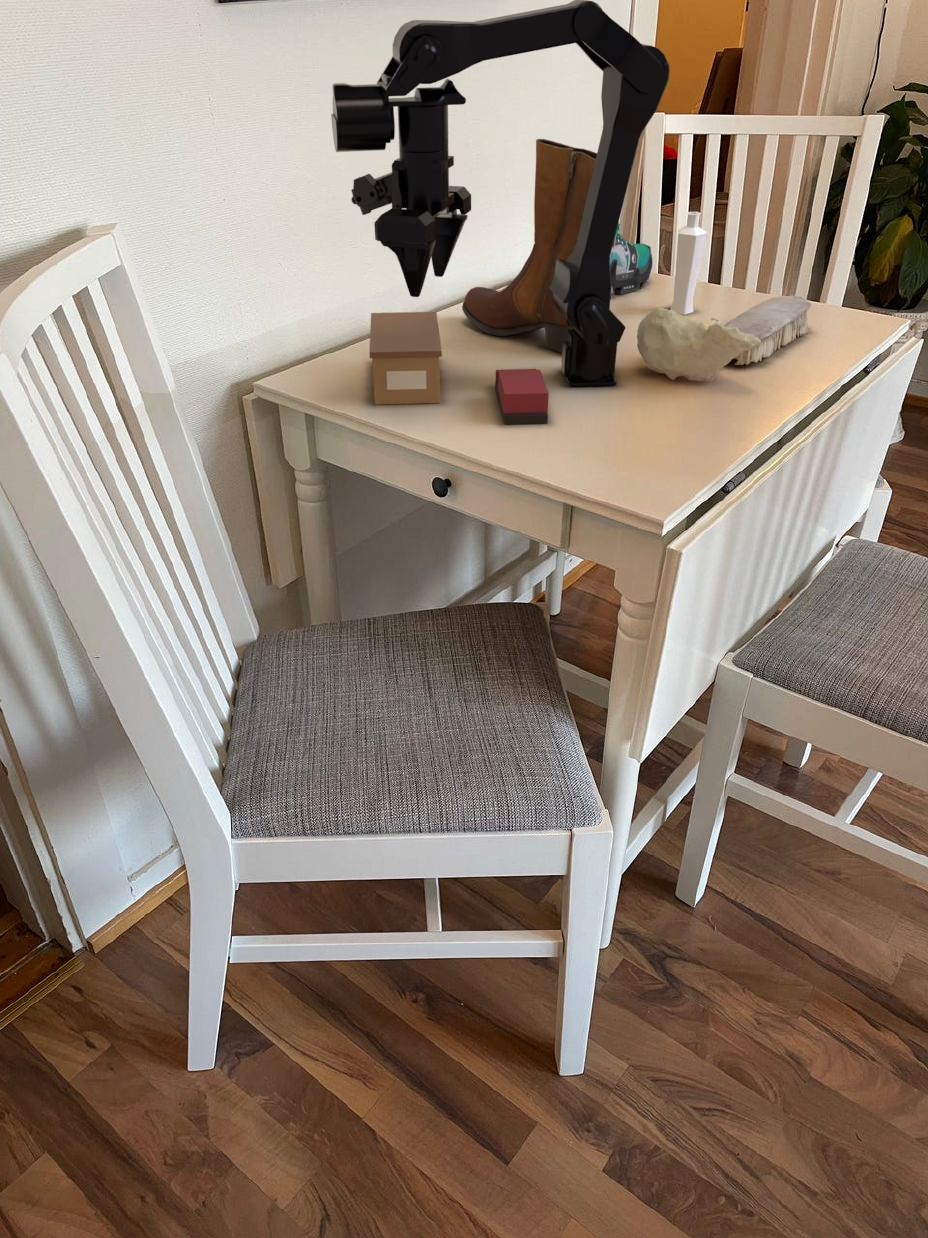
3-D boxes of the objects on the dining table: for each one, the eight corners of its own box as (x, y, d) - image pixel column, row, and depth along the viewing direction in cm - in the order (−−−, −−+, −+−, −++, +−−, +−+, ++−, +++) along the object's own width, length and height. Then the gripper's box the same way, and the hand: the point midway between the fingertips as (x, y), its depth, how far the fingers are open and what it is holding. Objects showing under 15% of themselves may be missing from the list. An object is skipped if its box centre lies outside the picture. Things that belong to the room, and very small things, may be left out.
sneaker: (667, 281, 171) (678, 190, 162) (580, 309, 157) (587, 211, 148) (625, 270, 176) (634, 182, 167) (538, 297, 162) (543, 202, 154)
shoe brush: (769, 319, 153) (775, 287, 150) (815, 329, 149) (822, 296, 146) (703, 361, 137) (708, 327, 134) (752, 373, 133) (758, 337, 130)
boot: (452, 322, 151) (451, 132, 136) (496, 310, 156) (500, 126, 141) (564, 366, 135) (578, 156, 120) (610, 352, 140) (628, 149, 125)
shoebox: (437, 360, 137) (436, 311, 133) (442, 404, 124) (441, 350, 120) (373, 362, 136) (371, 312, 132) (372, 405, 123) (369, 352, 119)
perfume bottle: (660, 308, 157) (672, 211, 149) (682, 305, 159) (695, 208, 150) (677, 316, 154) (689, 217, 145) (699, 313, 155) (713, 214, 147)
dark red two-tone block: (535, 387, 129) (536, 359, 126) (547, 423, 119) (549, 394, 117) (495, 388, 128) (495, 360, 126) (504, 424, 118) (505, 395, 116)
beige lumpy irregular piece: (616, 374, 138) (632, 336, 123) (637, 329, 139) (655, 285, 124) (715, 417, 137) (743, 383, 122) (735, 371, 138) (766, 332, 123)
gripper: (387, 133, 120) (393, 262, 129) (326, 158, 106) (338, 302, 115) (472, 137, 118) (472, 268, 127) (422, 163, 103) (426, 310, 112)
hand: (427, 286), depth 120 cm, fingers open, 9 cm apart
